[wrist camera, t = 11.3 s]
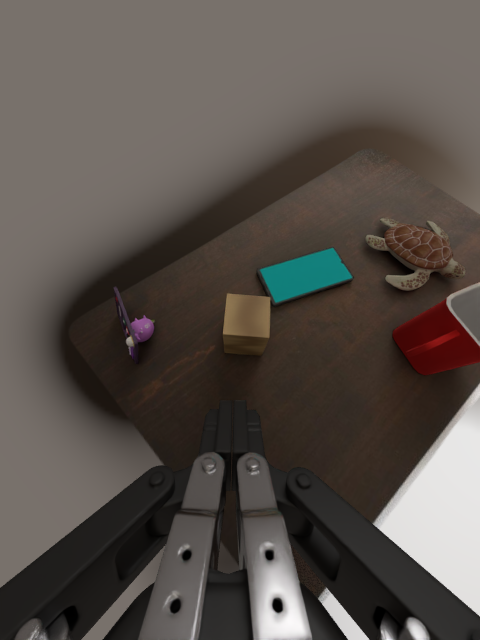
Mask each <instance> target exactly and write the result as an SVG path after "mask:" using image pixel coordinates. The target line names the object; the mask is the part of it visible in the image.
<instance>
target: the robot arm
mask: <svg viewBox="0 0 480 640" xmlns="http://www.w3.org/2000/svg"><path fill="white" fill-rule="evenodd" d="M232 402H233V400H220V405H219V409H210V411H209V412H208V413H207V415H206V416H205V422H204V427H203V433H202V439H201V444H200V450H199V455H198V457H197V458H196V460H195V461H194V463H193V464H192V465H191V466H189V467H188V468H185V469H183V470H179V471H176V472H173V470H172V469H171V468H169V467H167V466H162V465H161V466H156V467H153V468H151V469H149V470H148V471H147V472H146V473H144V474H143V475H142V476H140V477H139V478H138V479H137V480H135V481H134V482H133V483H132V484H130V485H129V486H128V487H127V488H125V489H124V490H123V491H122V492H120V493H119V494H118V495H117V496H115V497H114V498H113V499H112V500H110V501H109V502H108V503H106V504H105V505H104V506H103V507H101V508H100V509H99V510H98V511H96V512H95V513H94V514H93V515H92V516H90V517H89V518H88V519H86V520H85V521H84V522H83V523H81V524H80V525H79V526H78V527H76V528H75V529H74V530H73V531H71V532H70V533H69V534H68V535H66V536H65V537H64V538H62V539H61V540H60V541H59V542H57V543H56V544H55V545H54V546H52V547H51V548H50V549H49V550H47V551H46V552H45V553H44V554H42V555H41V556H40V557H39V558H37V559H36V560H35V561H34V562H32V563H31V564H30V565H29V566H27V567H26V568H25V569H24V570H22V571H21V572H20V573H19V574H17V575H16V576H15V577H13V578H12V579H11V580H10V581H9V582H7V583H6V584H5V585H3V586H2V587H1V588H0V640H81V639H82V638H83V637H84V636H85V635H86V634H87V633H88V631H89V630H90V629H91V628H92V627H93V626H94V625H95V624H96V622H97V621H98V620H99V619H100V618H101V617H102V616H103V614H104V613H105V612H106V611H107V610H108V609H109V608H110V607H111V605H112V604H113V603H114V602H115V601H116V600H117V599H118V598H119V596H120V595H121V594H122V593H123V592H124V591H125V590H126V589H127V587H128V586H129V585H130V584H131V583H132V582H133V581H134V580H135V578H136V577H137V576H138V575H139V574H140V573H141V571H142V570H143V569H144V568H145V567H146V566H147V565H148V563H149V562H150V561H151V560H152V559H153V558H154V557H155V556H156V554H158V552H159V551H160V550H161V549H162V548H163V546H165V544H166V547H165V550H164V553H163V557H162V560H161V564H160V567H159V571H158V574H157V577H156V581H155V582H154V583H153V584H151V585H150V586H149V587H148V588H146V589H145V590H144V591H143V592H142V593H141V594H140V595H139V596H138V597H137V598H136V599H135V600H134V601H133V602H132V604H131V605H130V606H129V607H128V609H127V610H126V611H125V612H124V613H123V615H122V616H121V617H120V619H119V620H118V621H117V622H116V624H115V625H114V626H113V627H112V629H111V630H110V631H109V632H108V634H107V635H106V636H105V637H104V639H103V640H348V639H347V638H346V636H345V635H344V633H343V632H342V631H341V629H340V628H339V627H338V625H337V624H336V623H335V621H334V620H333V618H332V617H331V616H330V614H329V613H328V612H327V610H326V609H325V608H324V606H323V605H322V603H321V602H320V601H319V600H318V598H317V597H316V596H315V595H314V594H313V593H312V592H311V591H310V590H309V589H308V588H307V587H306V586H305V585H303V584H302V583H300V582H299V580H298V576H297V572H296V567H295V563H294V559H293V555H292V551H291V546H290V543H291V545H292V546H293V547H294V548H295V549H296V551H297V552H298V553H299V554H300V555H301V557H302V558H303V559H304V560H305V562H306V563H307V564H308V565H309V566H310V568H311V569H312V570H313V571H314V572H315V574H316V575H317V576H318V577H319V579H320V580H321V581H322V582H323V583H324V585H325V586H326V587H327V588H328V590H329V591H330V592H331V593H332V594H333V595H334V597H335V598H336V599H337V600H338V602H339V603H340V604H341V605H342V606H343V608H344V609H345V610H346V611H347V613H348V614H349V615H350V616H351V617H352V619H353V620H354V621H355V622H356V623H357V625H358V626H359V627H360V628H361V630H362V631H363V632H364V633H365V635H366V636H367V637H368V638H369V639H370V640H480V616H479V615H477V614H476V613H475V612H474V611H473V610H472V609H471V608H469V607H468V606H467V605H466V604H465V603H464V602H462V601H461V600H460V599H459V598H458V597H457V596H455V595H454V594H453V593H452V592H451V591H450V590H448V589H447V588H446V587H445V586H444V585H443V584H441V583H440V582H439V581H438V580H437V579H436V578H434V577H433V576H432V575H431V574H430V573H429V572H428V571H426V570H425V569H424V568H423V567H422V566H421V565H419V564H418V563H417V562H416V561H415V560H414V559H413V558H411V557H410V556H409V555H408V554H407V553H405V552H404V551H403V550H402V549H401V548H400V547H399V546H397V545H396V544H395V543H394V542H393V541H392V540H390V539H389V538H388V537H387V536H386V535H385V534H383V533H382V532H381V531H380V530H379V529H378V528H377V527H375V526H374V525H373V524H372V523H371V522H370V521H368V520H367V519H366V518H365V517H364V516H363V515H361V514H360V513H359V512H358V511H357V510H356V509H355V508H353V507H352V506H351V505H350V504H349V503H348V502H346V501H345V500H344V499H343V498H342V497H341V496H339V495H338V494H337V493H336V492H335V491H334V490H332V489H331V488H330V487H329V486H328V485H327V484H326V483H324V482H323V481H322V480H321V479H320V478H319V477H317V476H316V475H315V474H314V473H313V472H311V471H310V470H308V469H306V468H301V467H297V468H293V469H292V470H290V471H289V472H288V473H287V472H284V471H281V470H278V469H276V468H274V467H273V466H271V465H270V464H269V463H268V461H267V460H266V457H265V453H264V446H263V438H262V431H261V422H260V416H259V415H258V413H257V412H256V410H247V408H246V400H234V407H233V455H232V491H236V522H237V537H238V552H239V571H236V572H233V573H230V574H226V573H223V572H220V571H217V568H218V557H219V548H220V540H221V531H222V523H223V514H224V506H225V502H226V491H230V484H231V446H232Z"/></svg>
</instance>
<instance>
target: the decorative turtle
mask: <svg viewBox="0 0 480 640" xmlns="http://www.w3.org/2000/svg"><path fill="white" fill-rule="evenodd" d="M380 222H381V223H383V224H384V225H385V226H388V227H389V228H390V229H388V230H387V231H386V232H385V235H384V238H381V237H377V236H373V235H367V236H366V239H365V240H366V242H367V244H368V245H369V246H371V247H372V248H374V249H376V250H381V251H389V252H390V253H391V254H392V255H393V256H394V257H395V258H396V259H398V260H399V261H400V262H401V263H402V264H404V265H405V266H406V267H408V268H410V269H412V270H414V271H415V272H414V273H413V274H410V275H407V276H396V275H387V276H386V278H385V279H386V281H387V282H388V283H390V284H391V285H393V286H394V287H396V288H398V289H401V290H407V291H409V290H414V289H417V288H419V287H421V286H422V285H423V284H424V283H426V282H427V280H428V279H429V276H430V273H431V272H434V271H436V272H439V273H440V274H441V275H442V276H444V277H446V278H449V279H455V280H457V279H461V278H463V277H464V276H465V268H464V267H463V266H462V265H461V264H459V263H458V262H455V261H453V259H452V257H453V253H452V249H451V247H450V245H449V244H450V240H449V237H448V236H447V234H446V233H445V232H444V231H443V230H442V229H441V228H440V227H439V226H437V225H436V224H435V223H433V222H431V221H427V222H426V225H427V226H428V227H429V228H430V229H431V230H432V231H430V230H427V229H424V228H422V227H418V226H414V225H407V224H400V223H399V222H397V221H394V220H392V219H389V218H382V219H381V220H380Z"/></svg>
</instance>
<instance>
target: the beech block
mask: <svg viewBox="0 0 480 640" xmlns="http://www.w3.org/2000/svg"><path fill="white" fill-rule="evenodd" d="M269 336H270V297H263V296H250V295H237V294H227V299H226V309H225V318H224V327H223V341H224V352H225V353H233V354H246V355H258V356H262V353H263V351H264V349H265V347H266V344H267V342H268V340H269Z"/></svg>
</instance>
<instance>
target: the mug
mask: <svg viewBox="0 0 480 640" xmlns="http://www.w3.org/2000/svg"><path fill="white" fill-rule="evenodd" d="M393 338H394V341H395V342H396V343H397V345H398V346H399V348H400V349H401V351H402V352H403V353H404V355H405V356H406V358H407V359H408V361H409V362H410V364H411V365H412V366H413V368H414V369H415V370H416V371H417V372H418V373H420V374H423V375H430V374H434V373H438V372H442V371H446V370H450V369H454V368H458V367H462V366H466V365H470V364H474V363H478V362H480V282H479V283H476V284H474V285H472V286H469V287H467V288H465V289H462V290H460V291H457V292H455V293H453V294H451V295H449V296H448V297H447V298H446V299H445V300H444V301H442V302H441V303H439V304H437V305H435V306H434V307H432V308H430V309H428V310H427V311H425V312H423V313H422V314H420V315H418V316H416V317H415V318H413V319H411V320H410V321H408V322H406V323H404V324H403V325H401V326H399V327H397V328H396V329H395V330H394V331H393Z"/></svg>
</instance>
